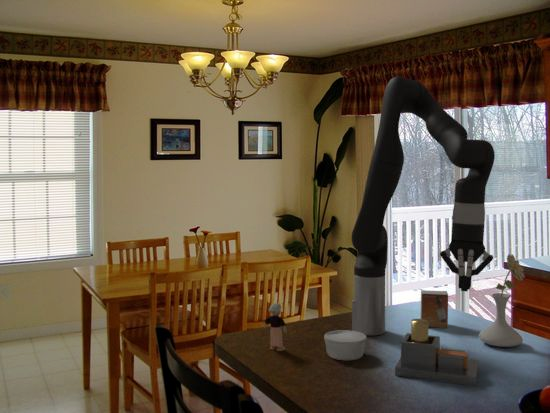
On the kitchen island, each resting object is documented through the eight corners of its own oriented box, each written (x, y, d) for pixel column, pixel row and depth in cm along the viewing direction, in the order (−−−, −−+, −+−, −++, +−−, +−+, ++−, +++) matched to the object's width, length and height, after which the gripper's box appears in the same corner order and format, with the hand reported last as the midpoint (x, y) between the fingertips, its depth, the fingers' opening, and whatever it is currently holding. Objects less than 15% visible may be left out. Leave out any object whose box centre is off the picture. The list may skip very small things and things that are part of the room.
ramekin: (341, 345, 157) (341, 327, 156) (375, 355, 149) (375, 335, 148) (315, 355, 149) (315, 335, 148) (349, 365, 141) (349, 344, 141)
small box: (420, 327, 174) (421, 293, 173) (420, 322, 179) (420, 289, 179) (448, 328, 172) (448, 294, 171) (446, 323, 178) (446, 290, 177)
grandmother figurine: (291, 348, 154) (291, 302, 154) (285, 352, 151) (285, 305, 150) (266, 344, 158) (265, 300, 157) (260, 348, 154) (259, 303, 153)
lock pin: (427, 364, 135) (427, 351, 135) (428, 360, 138) (428, 348, 138) (466, 368, 132) (466, 356, 131) (467, 364, 134) (467, 352, 134)
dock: (395, 375, 134) (395, 344, 133) (404, 359, 145) (404, 330, 144) (475, 386, 127) (476, 353, 126) (478, 368, 138) (479, 338, 137)
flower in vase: (502, 353, 149) (504, 259, 147) (469, 341, 159) (470, 253, 157) (536, 345, 155) (538, 255, 153) (502, 335, 165) (503, 250, 163)
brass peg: (409, 363, 136) (410, 322, 136) (412, 357, 140) (412, 318, 139) (426, 364, 135) (427, 323, 134) (428, 359, 139) (429, 319, 138)
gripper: (498, 221, 139) (493, 290, 141) (442, 218, 145) (439, 284, 146) (496, 224, 132) (491, 297, 134) (438, 220, 138) (434, 290, 139)
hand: (464, 290), depth 140 cm, fingers closed
